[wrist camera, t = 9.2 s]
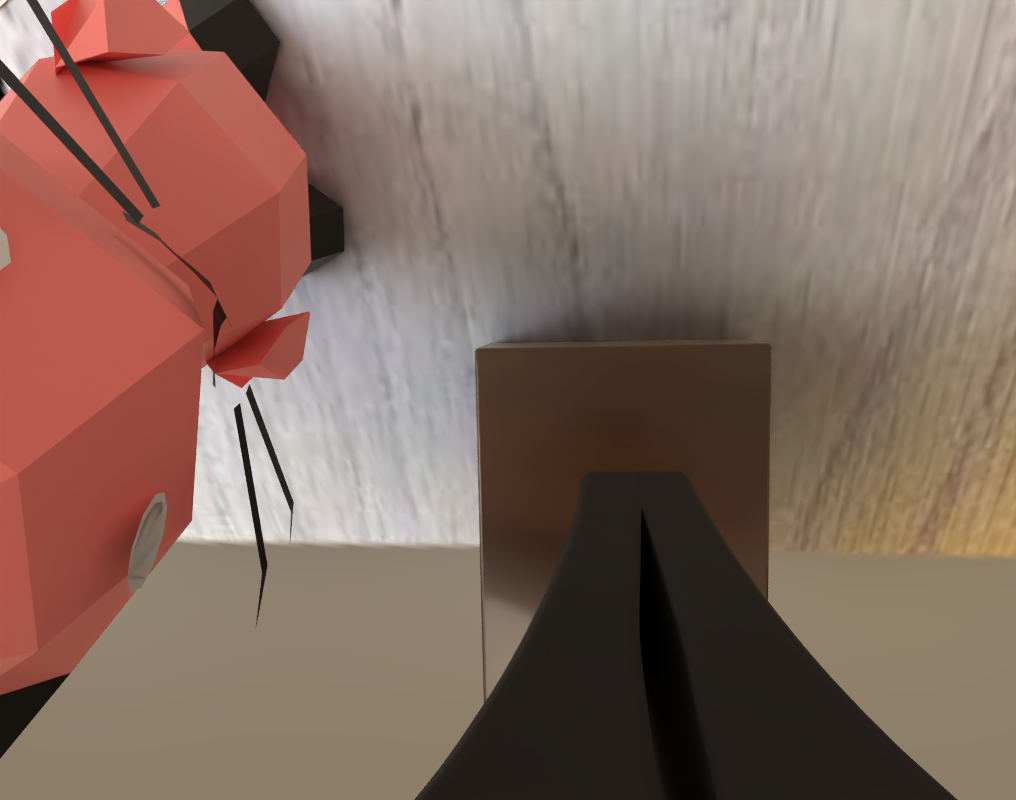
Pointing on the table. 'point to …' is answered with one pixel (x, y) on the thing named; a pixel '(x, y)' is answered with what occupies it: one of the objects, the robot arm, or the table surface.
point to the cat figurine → (132, 302)
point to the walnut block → (609, 453)
